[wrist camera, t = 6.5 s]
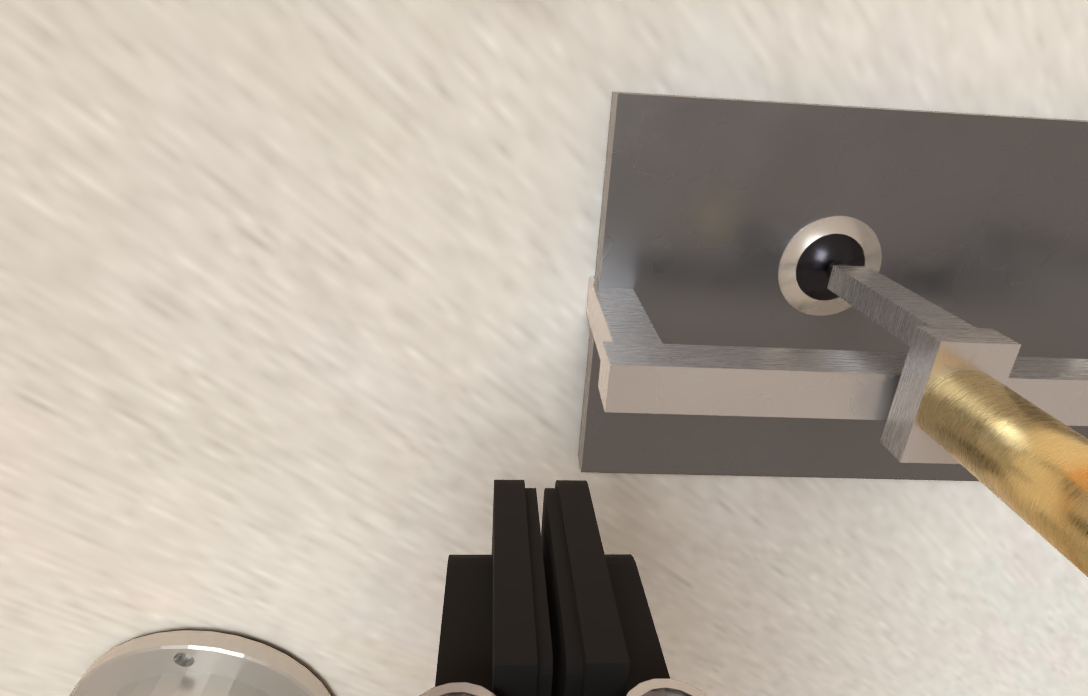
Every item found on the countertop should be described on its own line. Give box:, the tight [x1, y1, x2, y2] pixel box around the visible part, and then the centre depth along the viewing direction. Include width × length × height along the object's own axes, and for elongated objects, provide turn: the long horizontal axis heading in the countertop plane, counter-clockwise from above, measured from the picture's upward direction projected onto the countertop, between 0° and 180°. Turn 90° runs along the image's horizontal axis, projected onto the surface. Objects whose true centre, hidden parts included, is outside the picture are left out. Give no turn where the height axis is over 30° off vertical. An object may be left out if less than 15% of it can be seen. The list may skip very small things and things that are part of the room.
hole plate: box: [578, 92, 1088, 481], centre depth 24 cm, size 14×23×1 cm, turn 87°
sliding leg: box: [826, 261, 1088, 577], centre depth 16 cm, size 3×2×14 cm, turn 177°
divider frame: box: [586, 277, 1088, 426], centre depth 19 cm, size 3×23×10 cm, turn 87°
